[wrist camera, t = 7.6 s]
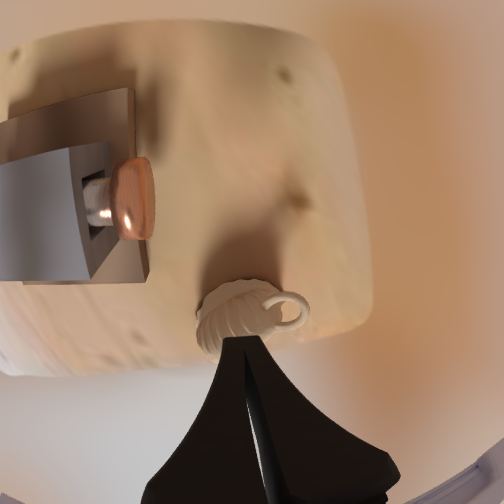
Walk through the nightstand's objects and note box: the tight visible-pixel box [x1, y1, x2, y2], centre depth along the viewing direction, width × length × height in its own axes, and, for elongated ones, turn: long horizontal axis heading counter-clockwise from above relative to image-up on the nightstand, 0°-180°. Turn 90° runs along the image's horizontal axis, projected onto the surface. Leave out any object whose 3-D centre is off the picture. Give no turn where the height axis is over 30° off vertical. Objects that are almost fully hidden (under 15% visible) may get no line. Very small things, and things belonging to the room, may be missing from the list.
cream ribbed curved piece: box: [195, 279, 310, 363], centre depth 18 cm, size 4×8×5 cm, turn 121°
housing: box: [0, 87, 149, 285], centre depth 13 cm, size 10×12×6 cm
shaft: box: [82, 157, 155, 241], centre depth 12 cm, size 11×4×4 cm, turn 89°
